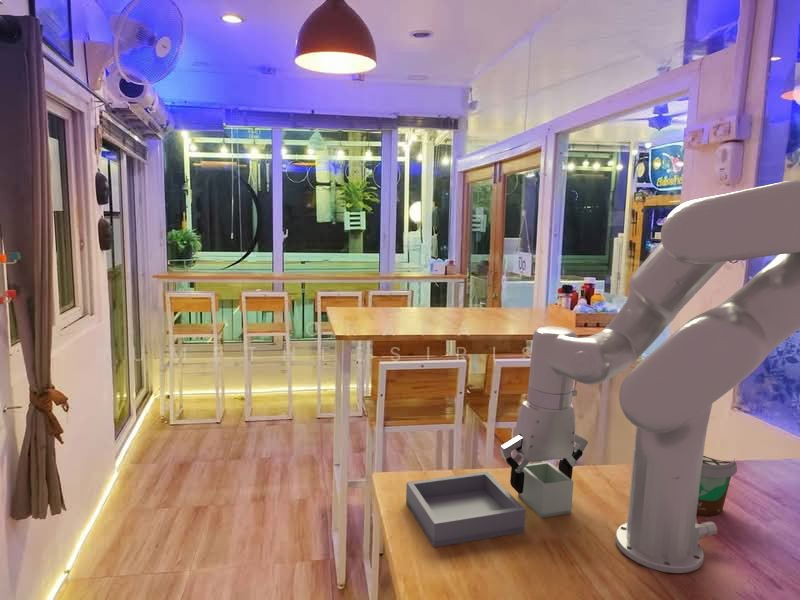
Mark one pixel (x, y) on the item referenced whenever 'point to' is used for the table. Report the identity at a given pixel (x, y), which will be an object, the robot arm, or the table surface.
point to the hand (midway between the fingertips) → (540, 486)
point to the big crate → (464, 508)
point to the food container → (714, 486)
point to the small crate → (547, 490)
